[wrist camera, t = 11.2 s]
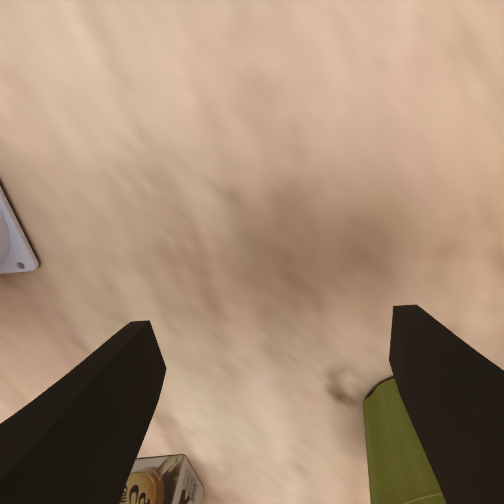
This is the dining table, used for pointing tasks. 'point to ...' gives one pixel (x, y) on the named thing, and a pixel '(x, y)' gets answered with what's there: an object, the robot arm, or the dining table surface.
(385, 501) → the plant pot
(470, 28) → the dining table surface
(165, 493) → the coffee box
